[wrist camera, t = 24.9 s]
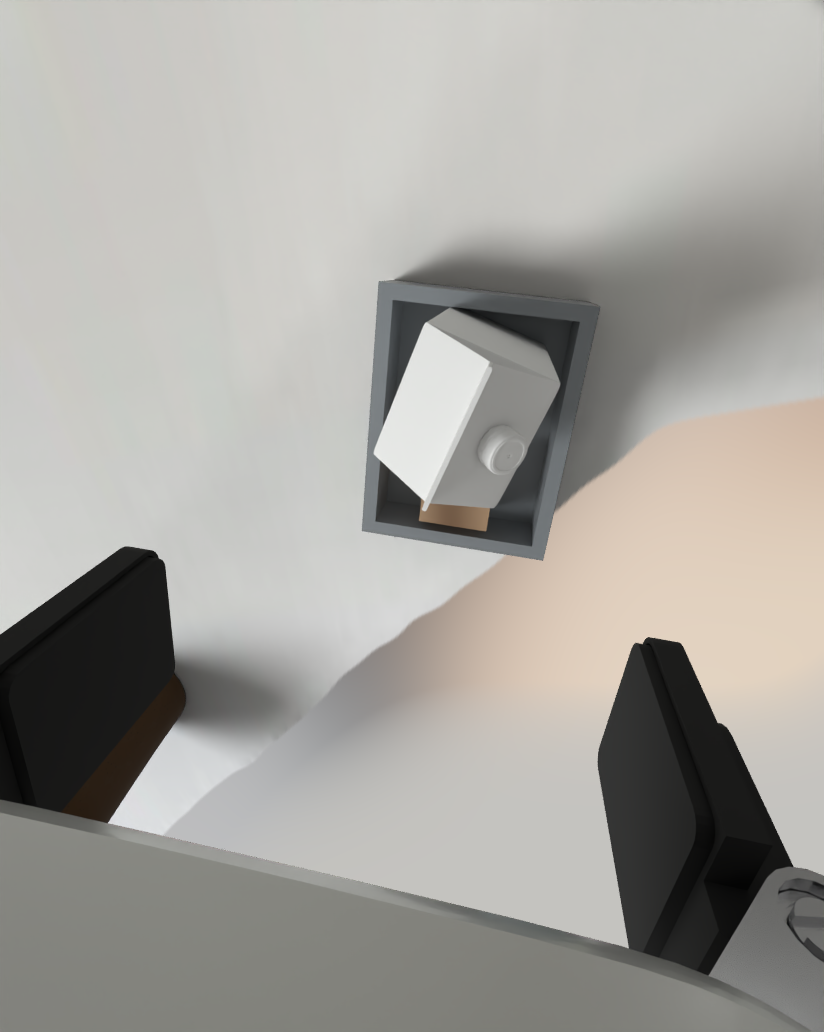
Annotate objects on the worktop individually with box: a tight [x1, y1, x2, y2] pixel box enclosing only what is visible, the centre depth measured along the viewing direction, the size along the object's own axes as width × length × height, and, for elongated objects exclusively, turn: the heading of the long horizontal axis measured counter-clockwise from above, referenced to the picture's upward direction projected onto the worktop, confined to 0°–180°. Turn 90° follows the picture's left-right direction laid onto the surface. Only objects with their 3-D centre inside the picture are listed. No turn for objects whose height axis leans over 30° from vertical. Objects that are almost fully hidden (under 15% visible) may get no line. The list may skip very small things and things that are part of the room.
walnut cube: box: [419, 499, 490, 531], centre depth 42 cm, size 5×5×5 cm
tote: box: [362, 280, 600, 561], centre depth 41 cm, size 14×18×5 cm
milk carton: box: [374, 307, 560, 511], centre depth 33 cm, size 7×7×19 cm
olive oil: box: [61, 673, 186, 823], centre depth 50 cm, size 11×11×25 cm
